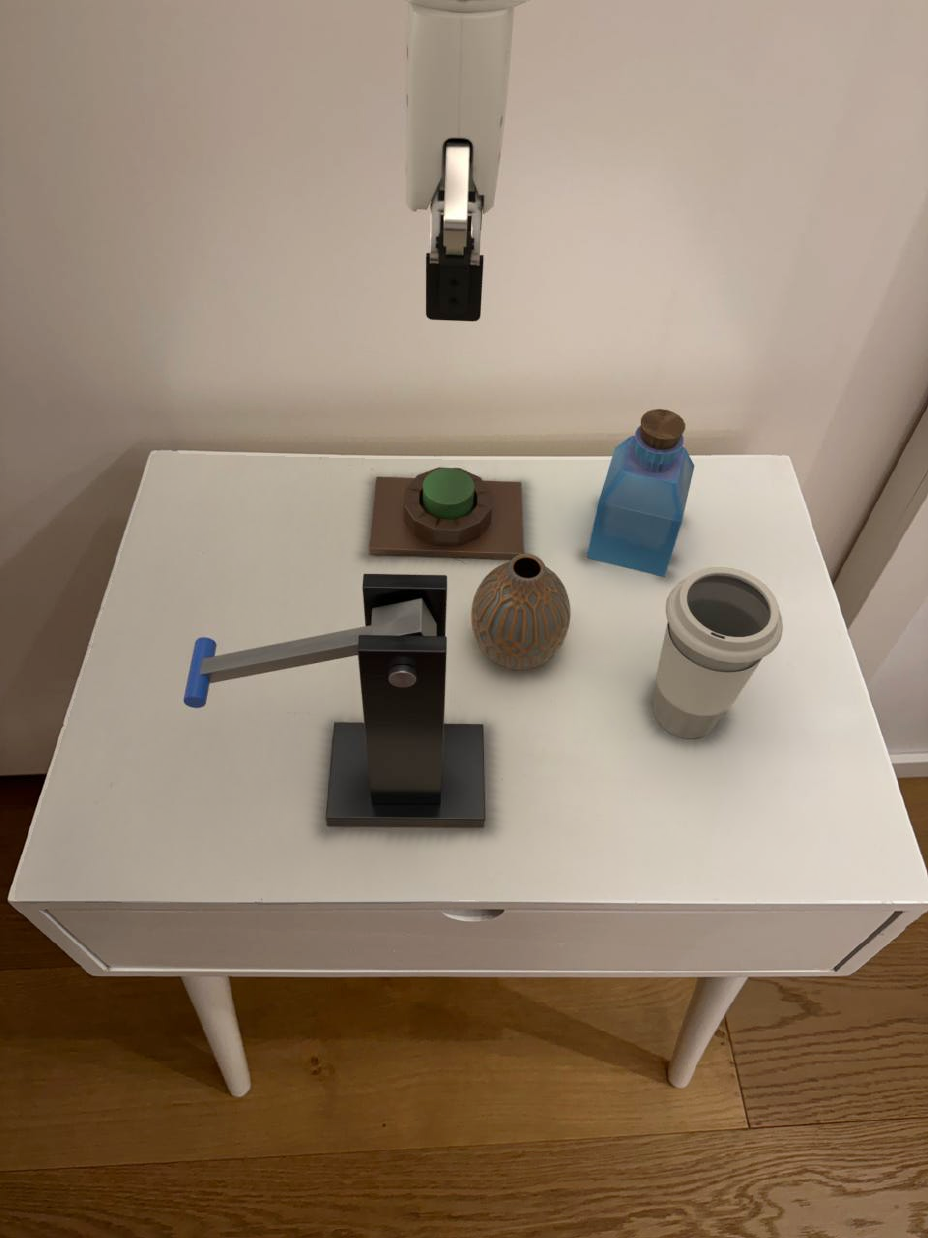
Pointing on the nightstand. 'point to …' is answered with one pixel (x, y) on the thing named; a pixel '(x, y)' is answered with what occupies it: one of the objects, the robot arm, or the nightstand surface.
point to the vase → (521, 613)
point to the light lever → (300, 649)
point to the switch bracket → (405, 727)
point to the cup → (712, 647)
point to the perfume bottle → (644, 496)
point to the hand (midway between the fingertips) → (454, 271)
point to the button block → (447, 521)
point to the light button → (448, 493)
